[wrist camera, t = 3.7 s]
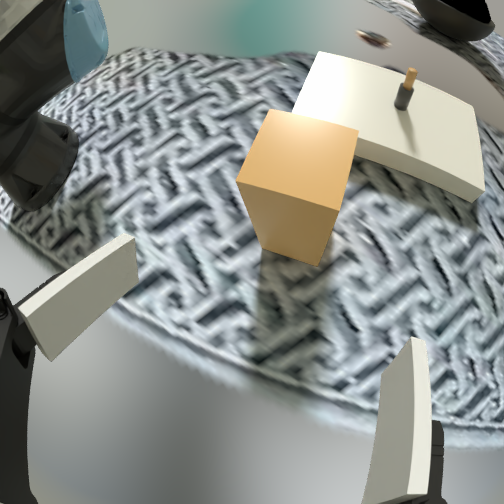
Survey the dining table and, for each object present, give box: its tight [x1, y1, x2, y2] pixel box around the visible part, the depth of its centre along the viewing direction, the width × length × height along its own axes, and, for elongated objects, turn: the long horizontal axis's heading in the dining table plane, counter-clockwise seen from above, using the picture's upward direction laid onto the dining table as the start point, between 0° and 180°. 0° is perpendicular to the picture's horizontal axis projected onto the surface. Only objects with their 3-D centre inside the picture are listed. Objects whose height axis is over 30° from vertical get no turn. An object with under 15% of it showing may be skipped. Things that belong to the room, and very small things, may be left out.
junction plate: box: [292, 52, 485, 203], centre depth 22 cm, size 22×14×8 cm, turn 69°
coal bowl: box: [412, 0, 495, 41], centre depth 23 cm, size 20×20×19 cm
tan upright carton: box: [236, 109, 359, 267], centre depth 19 cm, size 5×5×12 cm
